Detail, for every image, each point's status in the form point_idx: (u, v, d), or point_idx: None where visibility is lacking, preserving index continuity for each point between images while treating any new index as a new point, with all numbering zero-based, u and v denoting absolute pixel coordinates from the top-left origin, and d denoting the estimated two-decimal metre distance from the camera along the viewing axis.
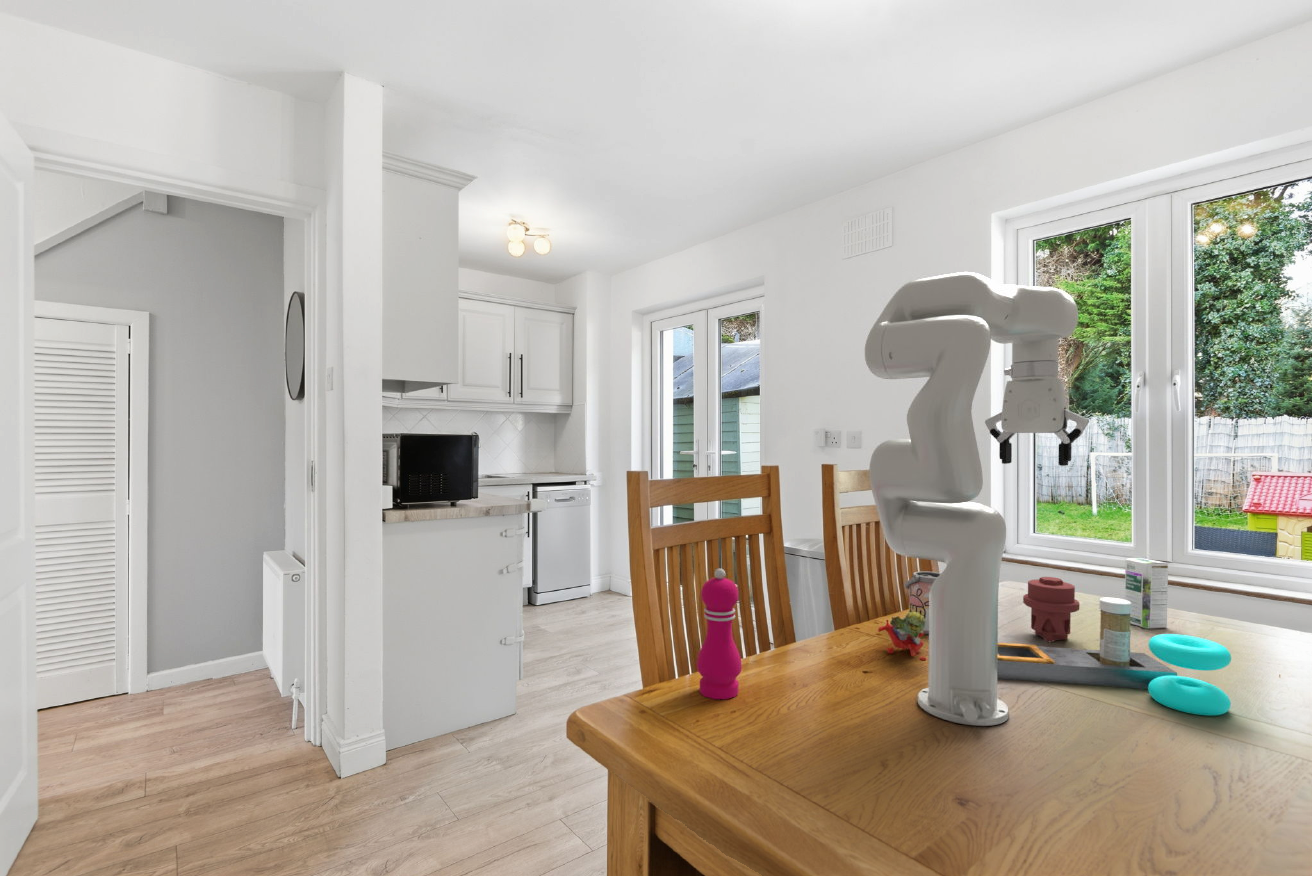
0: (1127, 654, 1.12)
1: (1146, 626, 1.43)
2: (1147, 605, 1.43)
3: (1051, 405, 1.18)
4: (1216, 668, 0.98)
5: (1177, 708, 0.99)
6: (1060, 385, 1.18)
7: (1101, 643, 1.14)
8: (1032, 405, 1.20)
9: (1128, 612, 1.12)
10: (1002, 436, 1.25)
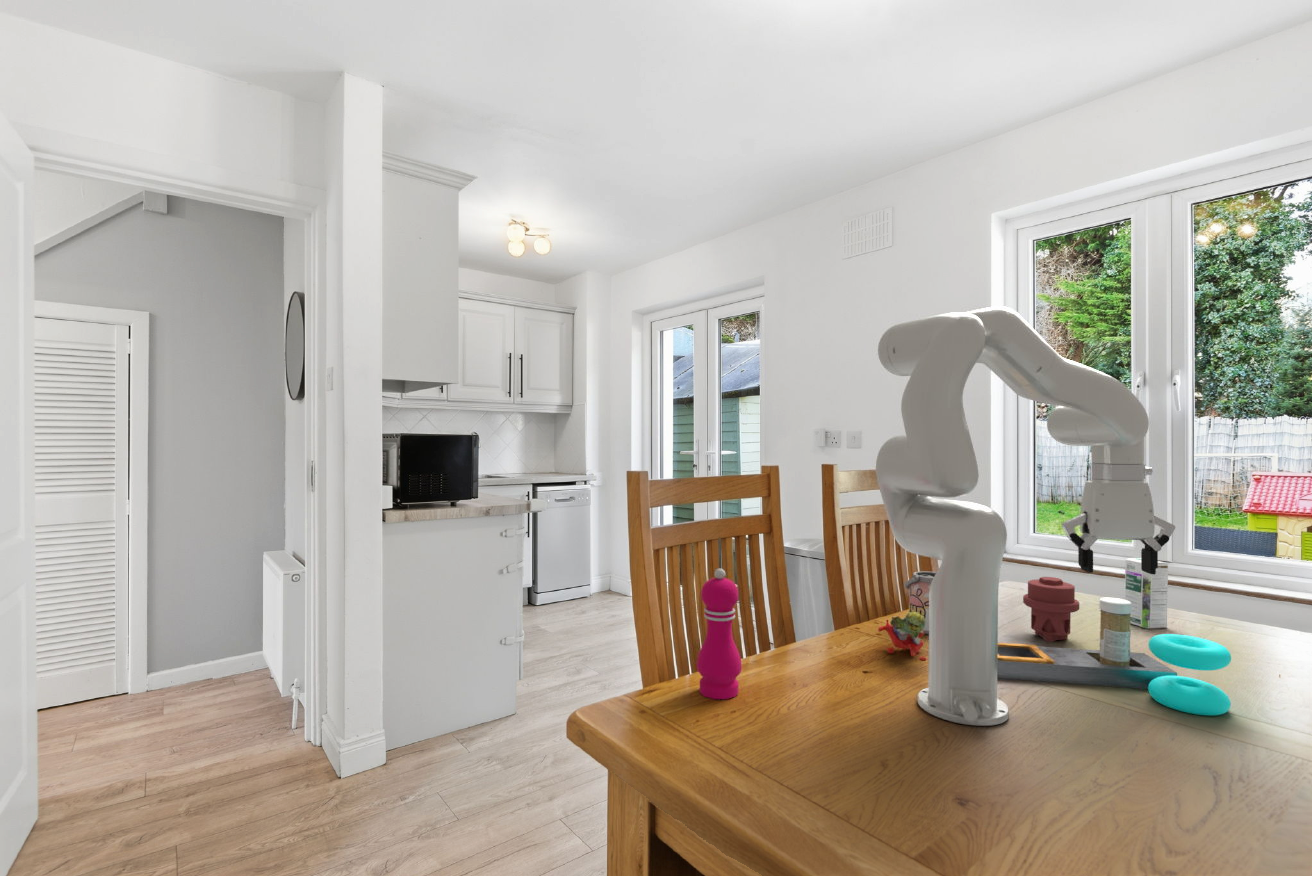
0: (1127, 654, 1.12)
1: (1146, 626, 1.43)
2: (1147, 605, 1.43)
3: None
4: (1216, 668, 0.98)
5: (1177, 708, 0.99)
6: (1084, 488, 1.16)
7: (1101, 643, 1.14)
8: None
9: (1128, 612, 1.12)
10: None
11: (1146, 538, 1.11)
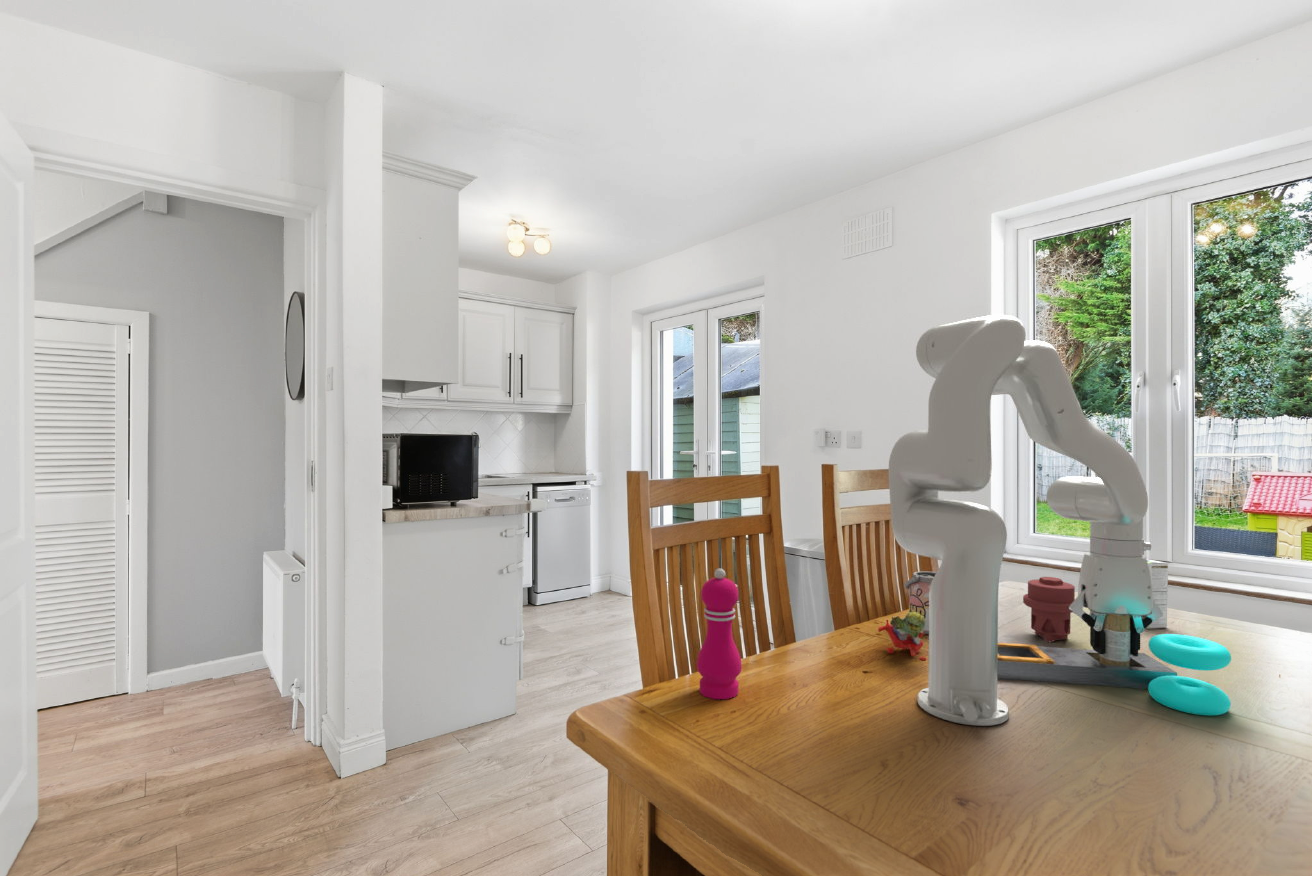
0: (1127, 654, 1.12)
1: None
2: None
3: None
4: (1216, 668, 0.98)
5: (1177, 708, 0.99)
6: (1083, 560, 1.16)
7: None
8: None
9: None
10: None
11: (1144, 614, 1.11)
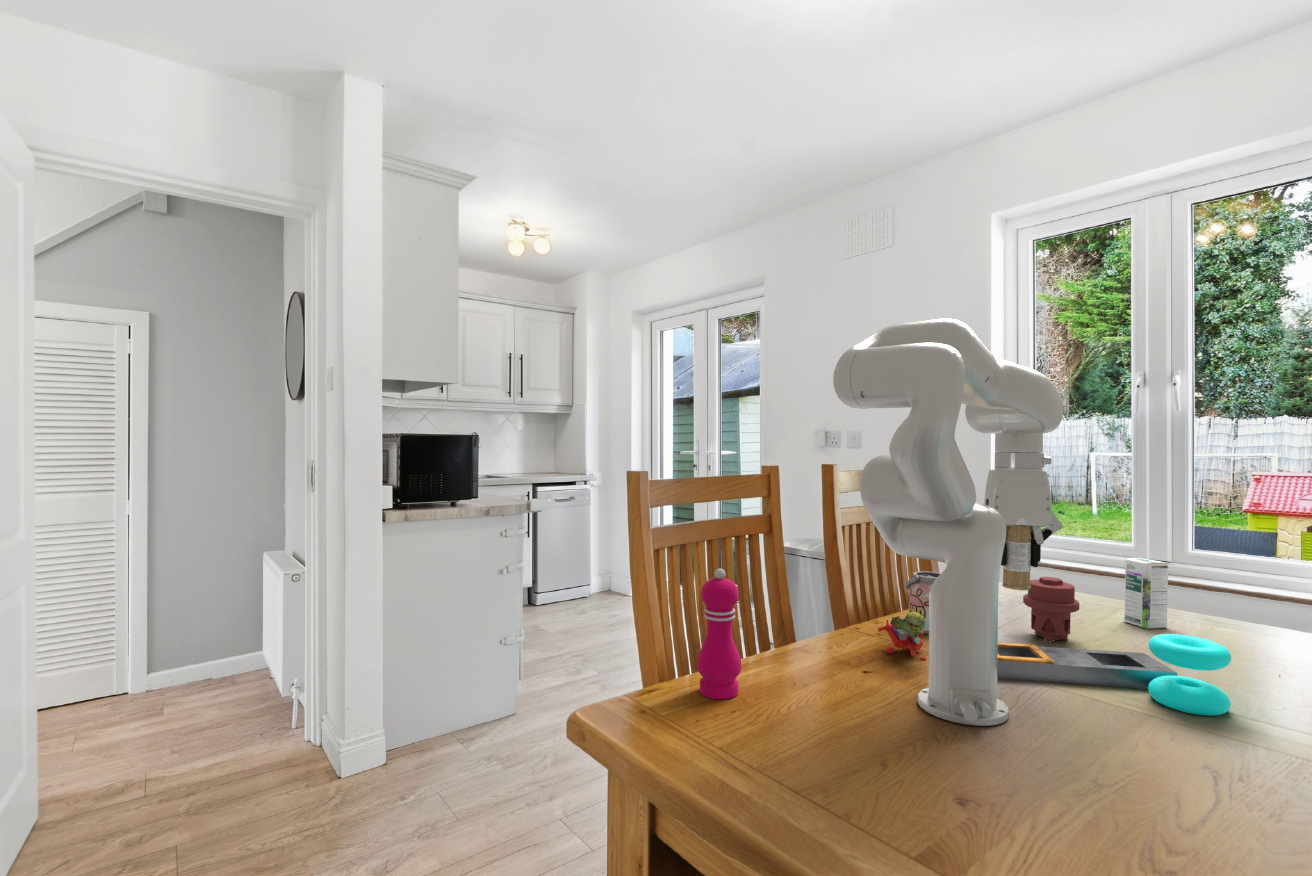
0: (1027, 564, 1.15)
1: (1146, 626, 1.43)
2: (1147, 605, 1.43)
3: None
4: (1216, 668, 0.98)
5: (1177, 708, 0.99)
6: None
7: None
8: None
9: None
10: None
11: (1043, 525, 1.14)
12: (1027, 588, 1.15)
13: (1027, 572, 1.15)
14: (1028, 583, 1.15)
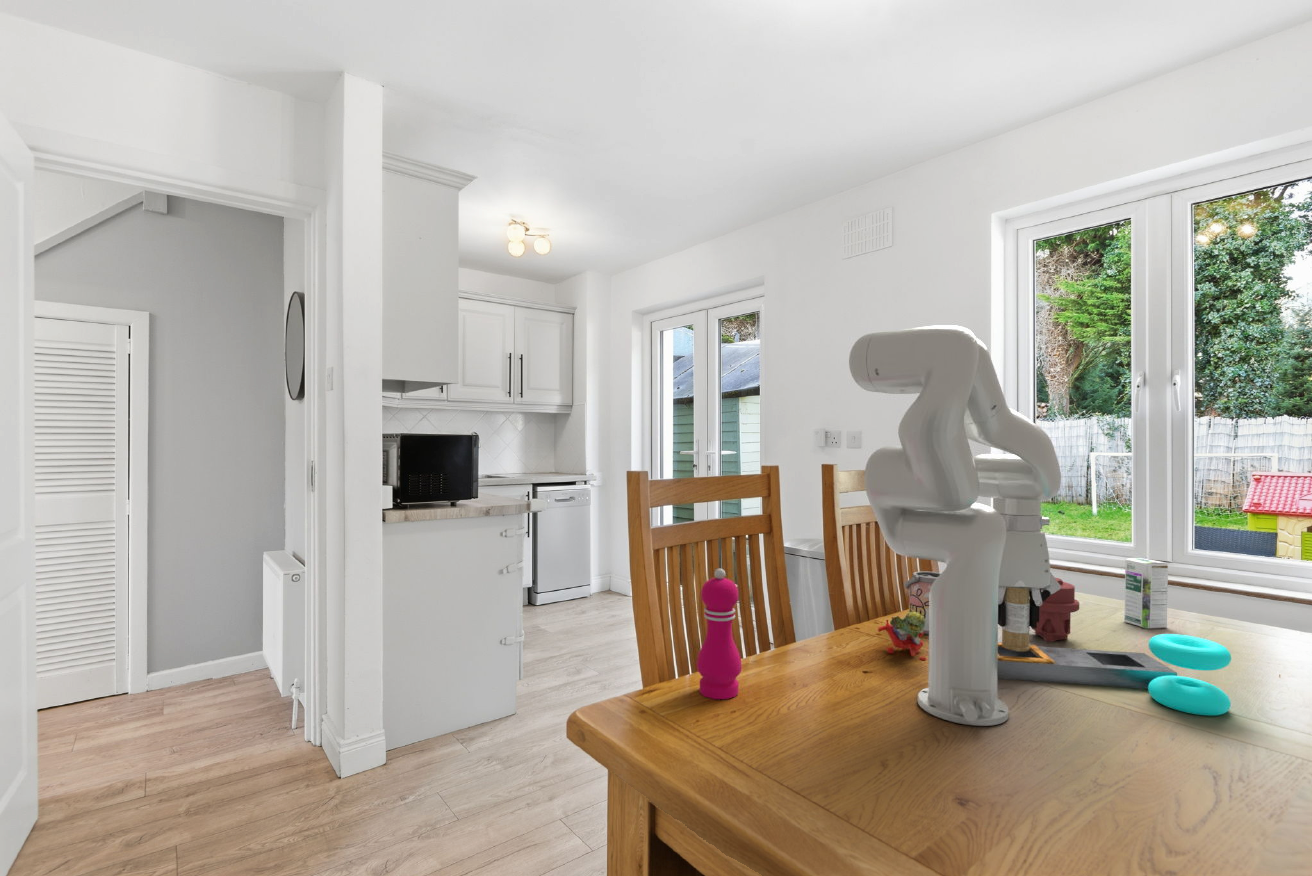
0: (1026, 626, 1.15)
1: (1146, 626, 1.43)
2: (1147, 605, 1.43)
3: None
4: (1216, 668, 0.98)
5: (1177, 708, 0.99)
6: None
7: None
8: None
9: None
10: None
11: (1042, 587, 1.14)
12: (1026, 649, 1.15)
13: (1026, 633, 1.15)
14: (1027, 644, 1.15)
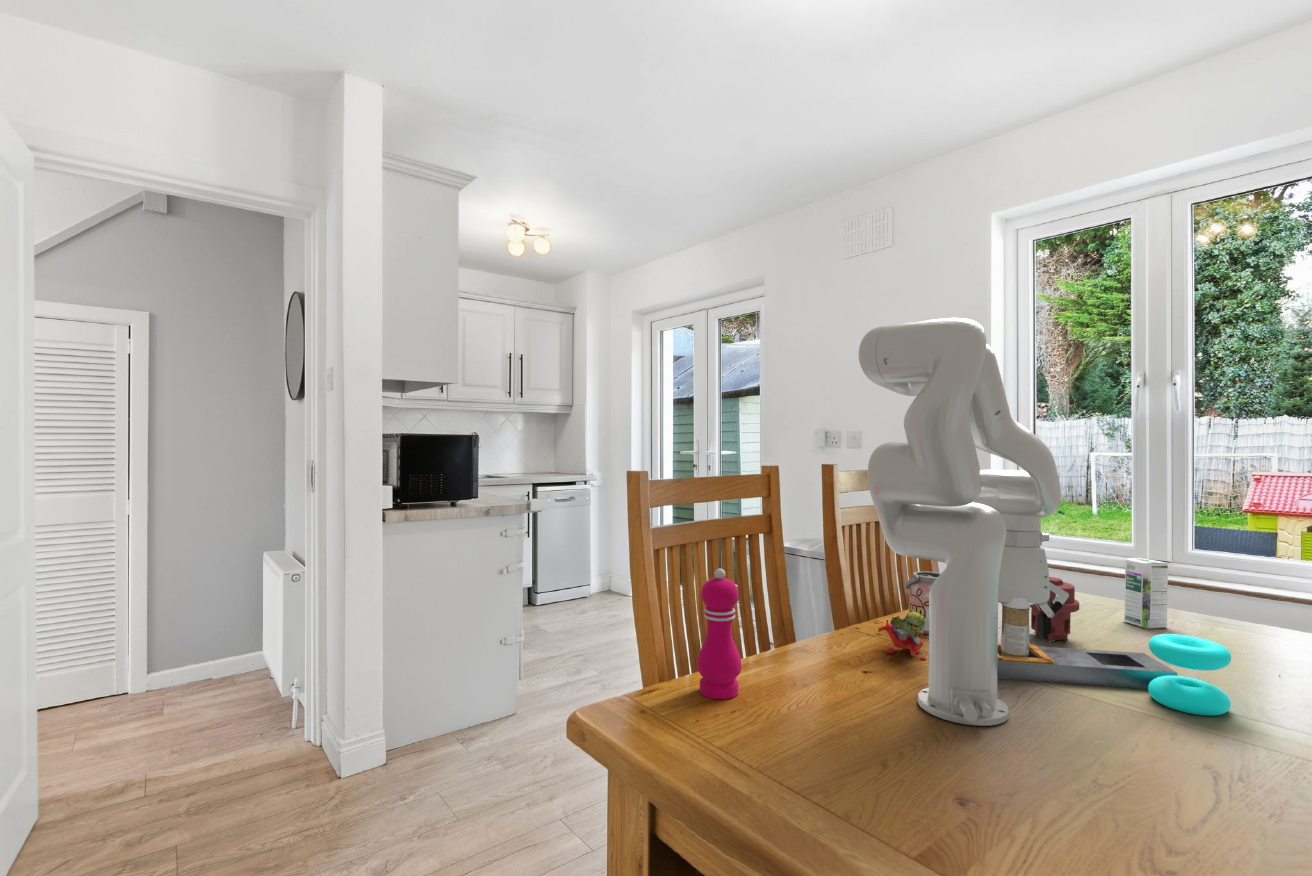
0: (1025, 648, 1.15)
1: (1146, 626, 1.43)
2: (1147, 605, 1.43)
3: None
4: (1216, 668, 0.98)
5: (1177, 708, 0.99)
6: None
7: (1002, 637, 1.17)
8: None
9: (1026, 607, 1.14)
10: None
11: (1041, 603, 1.14)
12: None
13: (1025, 655, 1.15)
14: None
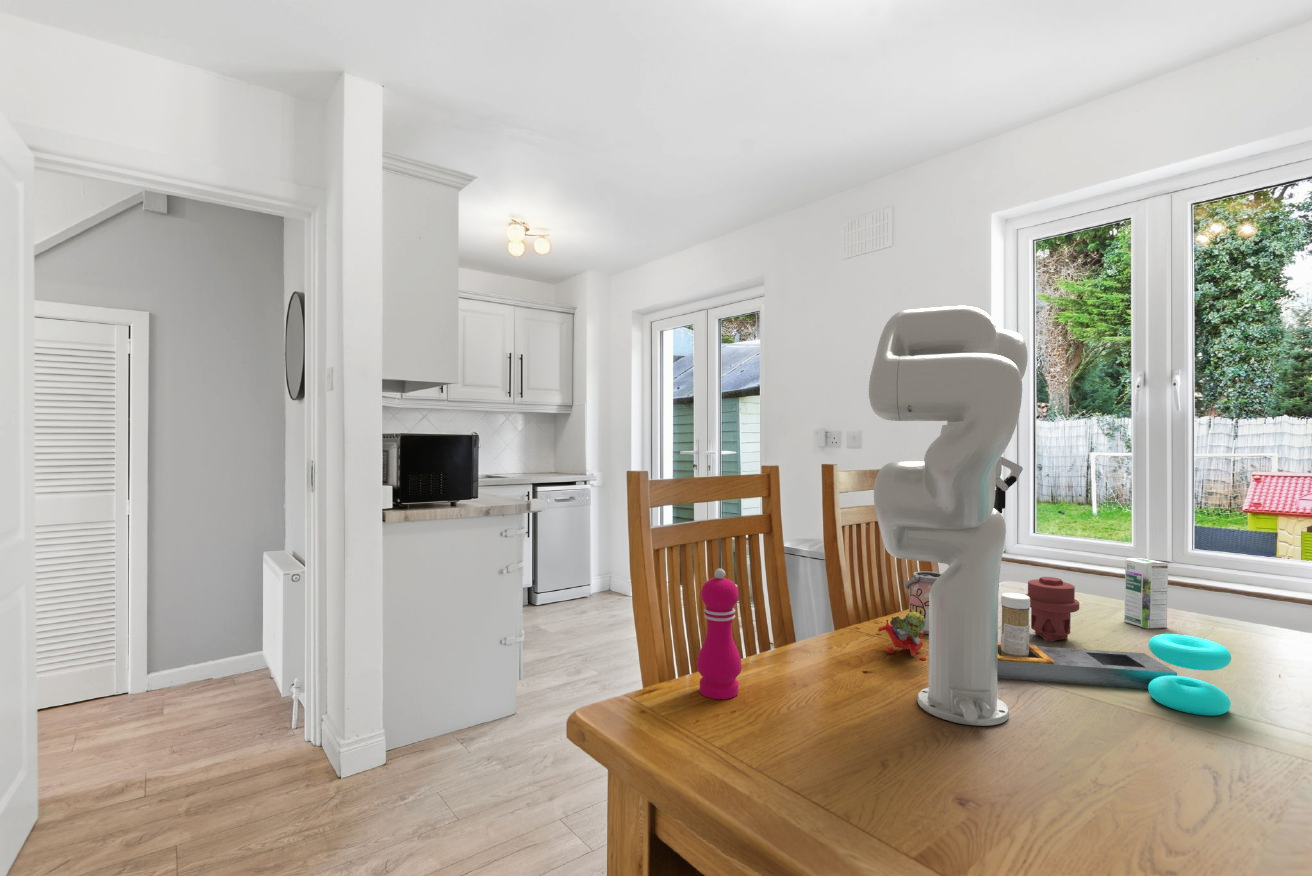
0: (1025, 648, 1.15)
1: (1146, 626, 1.43)
2: (1147, 605, 1.43)
3: None
4: (1216, 668, 0.98)
5: (1177, 708, 0.99)
6: None
7: (1002, 637, 1.17)
8: None
9: (1026, 607, 1.14)
10: None
11: None
12: None
13: (1025, 655, 1.15)
14: None
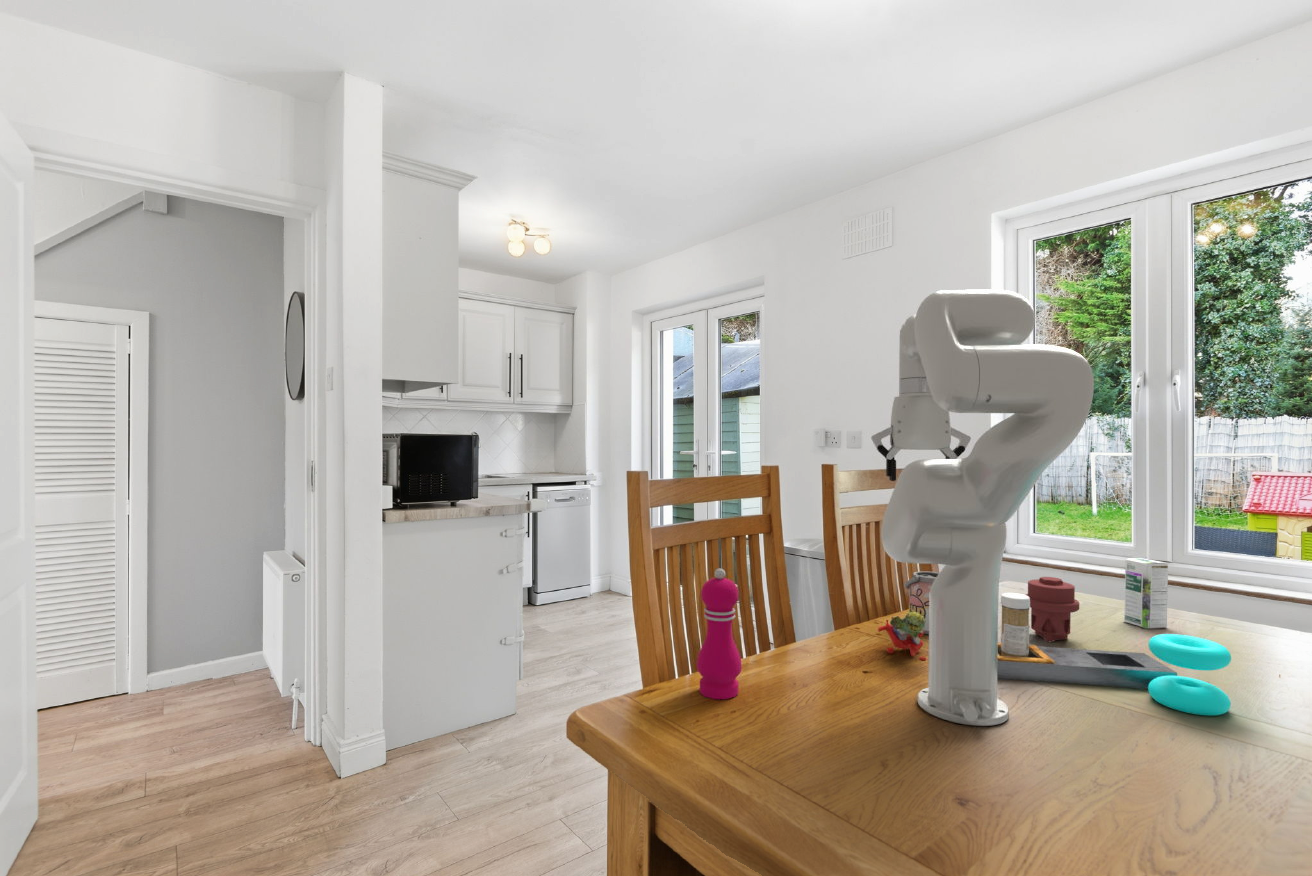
0: (1025, 648, 1.15)
1: (1146, 626, 1.43)
2: (1147, 605, 1.43)
3: None
4: (1216, 668, 0.98)
5: (1177, 708, 0.99)
6: (893, 403, 1.24)
7: (1002, 637, 1.17)
8: None
9: (1026, 607, 1.14)
10: None
11: (943, 448, 1.19)
12: None
13: (1025, 655, 1.15)
14: None
